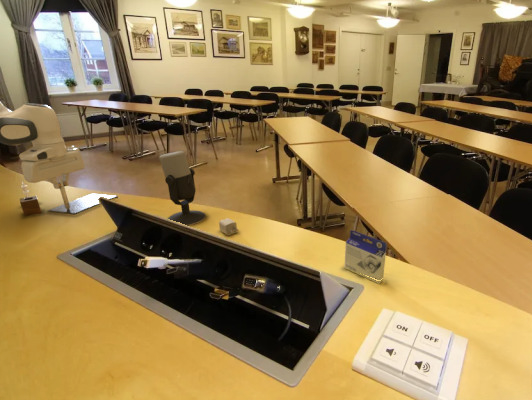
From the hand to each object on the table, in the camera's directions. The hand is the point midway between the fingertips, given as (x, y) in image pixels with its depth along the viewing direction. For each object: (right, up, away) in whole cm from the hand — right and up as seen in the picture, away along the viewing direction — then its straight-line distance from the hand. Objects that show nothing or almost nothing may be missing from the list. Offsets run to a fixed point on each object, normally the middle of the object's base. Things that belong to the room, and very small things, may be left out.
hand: (61, 187), depth 119 cm
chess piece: (-20, -7, +9) cm, 23 cm away
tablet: (+1, -7, +10) cm, 12 cm away
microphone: (+47, -12, -1) cm, 49 cm away
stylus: (0, -8, +3) cm, 9 cm away
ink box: (+108, -25, -33) cm, 116 cm away
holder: (-11, -10, +1) cm, 15 cm away
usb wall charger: (+66, -16, -11) cm, 69 cm away
